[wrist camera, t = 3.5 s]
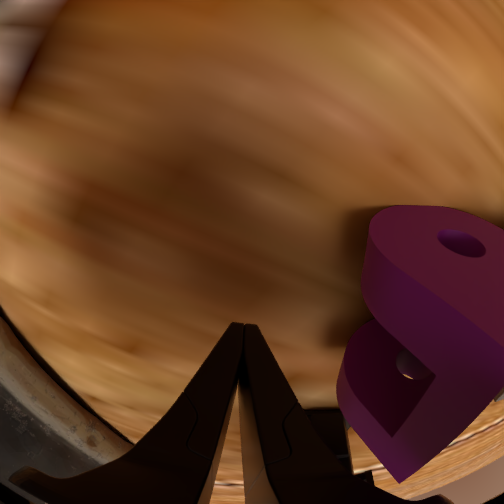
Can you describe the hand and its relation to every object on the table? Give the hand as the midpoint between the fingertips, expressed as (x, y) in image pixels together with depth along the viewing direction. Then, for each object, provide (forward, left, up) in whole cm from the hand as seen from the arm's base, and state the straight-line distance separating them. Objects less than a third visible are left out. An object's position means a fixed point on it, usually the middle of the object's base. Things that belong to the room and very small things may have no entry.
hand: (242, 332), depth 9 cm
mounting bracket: (0, -14, -6) cm, 15 cm away
